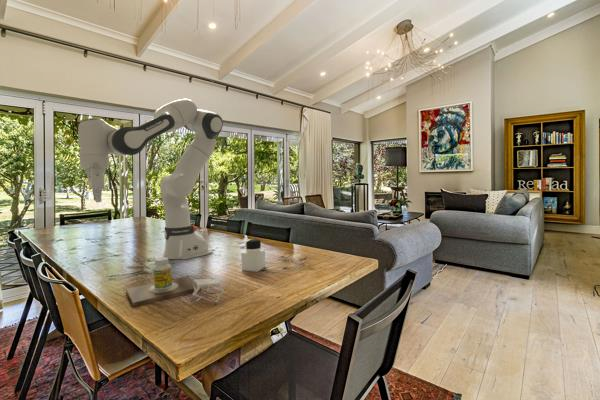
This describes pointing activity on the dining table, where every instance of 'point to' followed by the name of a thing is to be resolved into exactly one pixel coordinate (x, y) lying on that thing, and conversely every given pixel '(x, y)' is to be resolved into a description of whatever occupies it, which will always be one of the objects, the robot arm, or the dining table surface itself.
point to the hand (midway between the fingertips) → (97, 201)
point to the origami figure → (202, 283)
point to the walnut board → (160, 291)
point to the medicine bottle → (253, 256)
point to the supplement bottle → (162, 274)
